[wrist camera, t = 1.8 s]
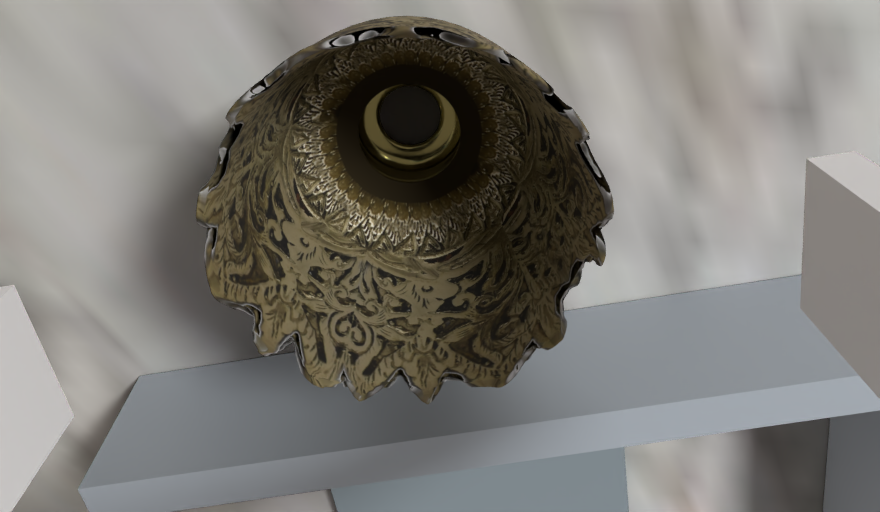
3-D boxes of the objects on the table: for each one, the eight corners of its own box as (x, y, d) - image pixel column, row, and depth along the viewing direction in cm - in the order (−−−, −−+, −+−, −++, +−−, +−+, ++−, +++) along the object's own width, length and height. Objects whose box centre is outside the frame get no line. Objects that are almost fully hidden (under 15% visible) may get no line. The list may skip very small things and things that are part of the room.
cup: (468, 276, 23) (489, 457, 16) (234, 175, 22) (142, 328, 15) (598, 50, 20) (693, 151, 13) (338, -85, 19) (288, -54, 12)
